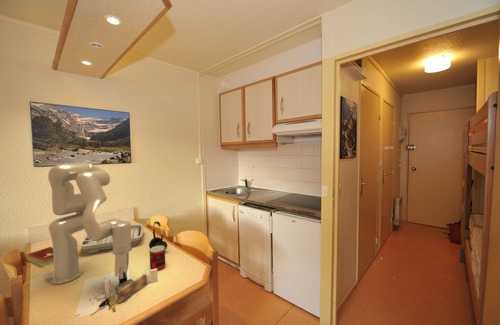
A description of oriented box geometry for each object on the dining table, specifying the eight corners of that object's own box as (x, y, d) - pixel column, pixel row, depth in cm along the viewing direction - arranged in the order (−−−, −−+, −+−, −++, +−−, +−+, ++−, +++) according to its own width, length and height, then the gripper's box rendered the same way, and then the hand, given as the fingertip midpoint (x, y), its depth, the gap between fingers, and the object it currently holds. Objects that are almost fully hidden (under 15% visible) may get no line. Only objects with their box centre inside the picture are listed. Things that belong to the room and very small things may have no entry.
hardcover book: (51, 252, 139) (50, 246, 139) (68, 258, 130) (67, 252, 130) (26, 260, 128) (25, 254, 128) (42, 268, 119) (42, 261, 119)
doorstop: (120, 299, 93) (120, 290, 93) (115, 295, 95) (114, 286, 95) (136, 290, 99) (136, 281, 98) (130, 286, 101) (130, 278, 101)
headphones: (155, 258, 128) (154, 226, 127) (147, 250, 138) (146, 220, 137) (169, 253, 134) (168, 222, 133) (160, 246, 144) (159, 217, 143)
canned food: (154, 264, 122) (153, 245, 121) (167, 264, 121) (167, 245, 121) (147, 271, 114) (146, 251, 113) (161, 271, 114) (161, 251, 113)
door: (121, 304, 89) (120, 293, 89) (117, 302, 90) (116, 292, 90) (148, 284, 102) (148, 275, 102) (144, 283, 103) (144, 274, 103)
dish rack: (143, 247, 144) (142, 235, 144) (75, 259, 128) (75, 246, 128) (144, 231, 173) (143, 222, 172) (88, 240, 157) (88, 229, 156)
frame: (105, 295, 95) (104, 282, 95) (106, 292, 97) (105, 279, 97) (157, 281, 105) (157, 269, 105) (157, 279, 107) (157, 268, 106)
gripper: (115, 243, 105) (116, 278, 106) (110, 257, 91) (111, 297, 92) (132, 240, 108) (133, 275, 109) (130, 253, 94) (131, 292, 96)
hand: (123, 285), depth 101 cm, fingers closed
